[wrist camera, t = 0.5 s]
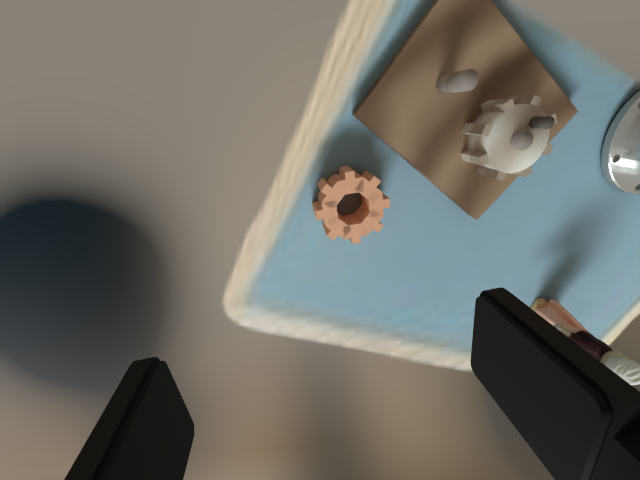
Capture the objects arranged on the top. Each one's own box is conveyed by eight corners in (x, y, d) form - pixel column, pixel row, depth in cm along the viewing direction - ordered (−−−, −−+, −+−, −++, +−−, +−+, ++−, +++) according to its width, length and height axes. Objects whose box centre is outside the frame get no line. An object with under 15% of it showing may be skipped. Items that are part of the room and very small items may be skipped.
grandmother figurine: (569, 301, 42) (678, 372, 31) (553, 323, 44) (652, 399, 32) (526, 289, 41) (624, 360, 29) (511, 313, 42) (599, 390, 30)
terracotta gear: (393, 192, 33) (404, 200, 30) (351, 244, 35) (357, 256, 32) (341, 150, 31) (348, 154, 28) (298, 208, 32) (300, 218, 30)
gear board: (565, 111, 32) (628, 110, 26) (469, 215, 35) (506, 235, 30) (454, -27, 26) (503, -66, 20) (352, 114, 29) (369, 114, 24)
